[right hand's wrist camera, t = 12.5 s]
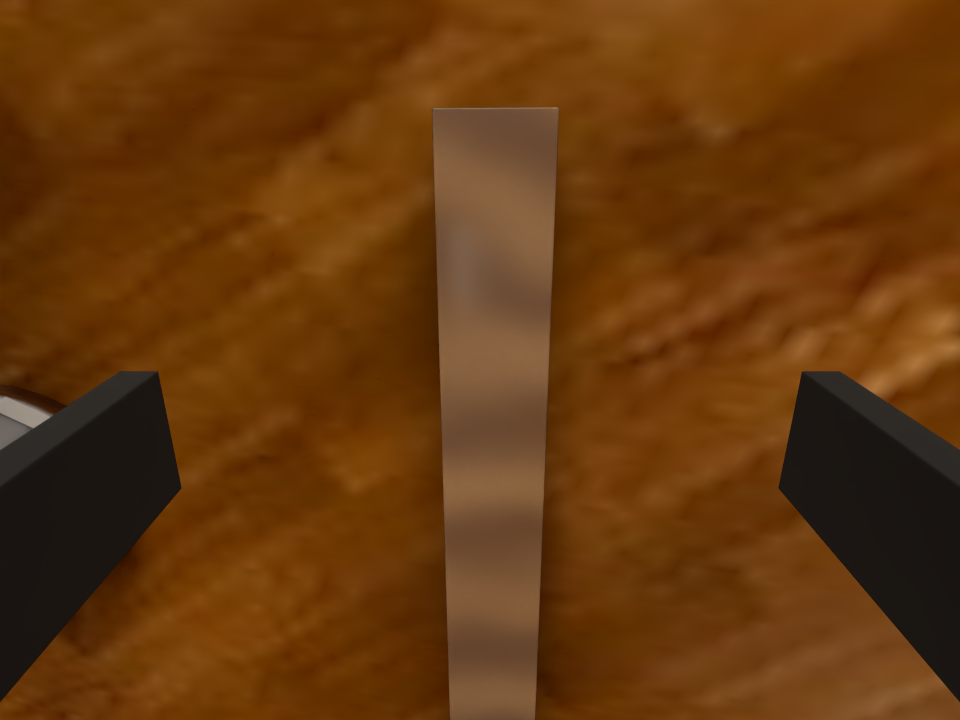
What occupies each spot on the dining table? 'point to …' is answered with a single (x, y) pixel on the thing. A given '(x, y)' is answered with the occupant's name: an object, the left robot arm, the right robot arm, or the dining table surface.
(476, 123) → the bar
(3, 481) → the right robot arm
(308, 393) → the dining table surface
